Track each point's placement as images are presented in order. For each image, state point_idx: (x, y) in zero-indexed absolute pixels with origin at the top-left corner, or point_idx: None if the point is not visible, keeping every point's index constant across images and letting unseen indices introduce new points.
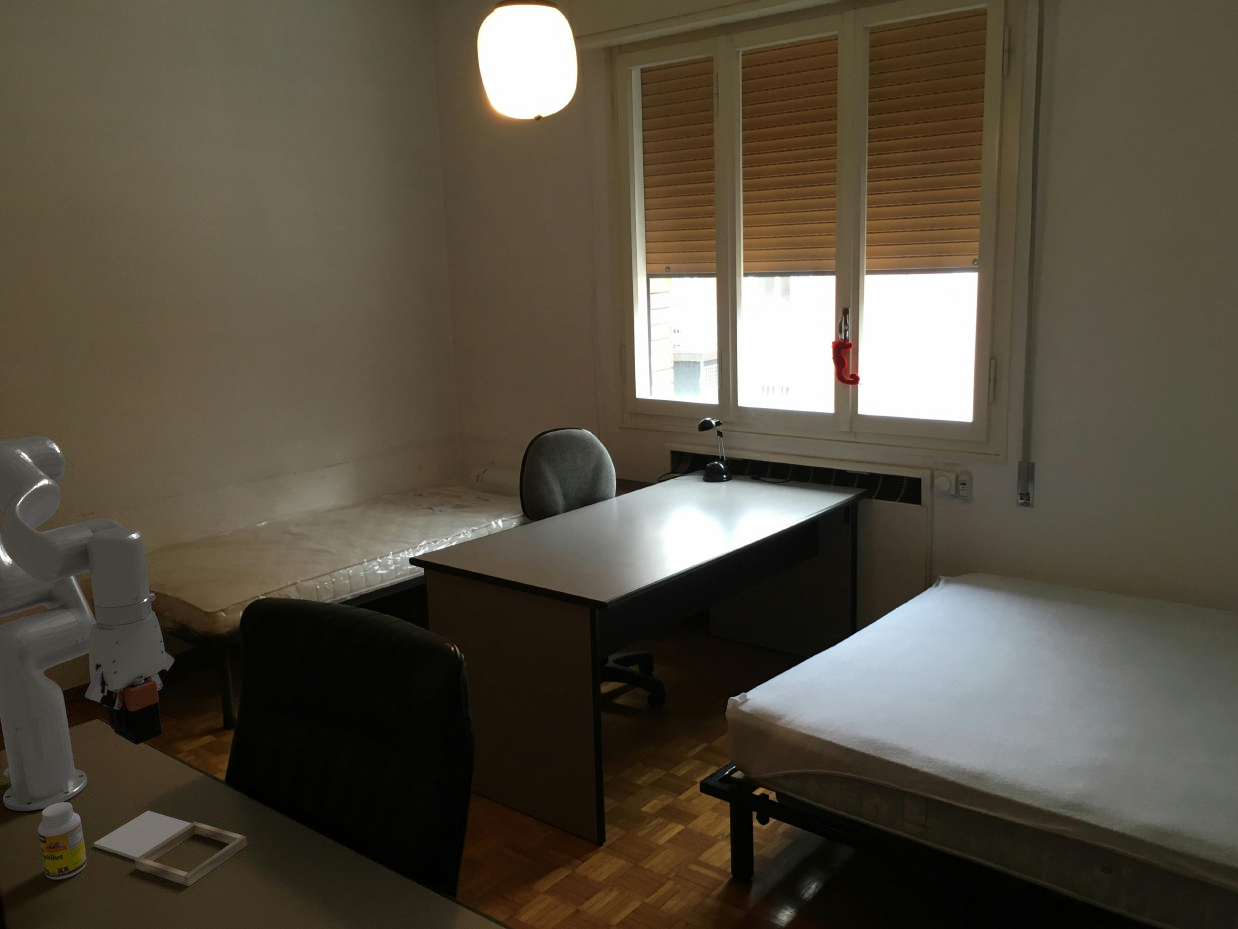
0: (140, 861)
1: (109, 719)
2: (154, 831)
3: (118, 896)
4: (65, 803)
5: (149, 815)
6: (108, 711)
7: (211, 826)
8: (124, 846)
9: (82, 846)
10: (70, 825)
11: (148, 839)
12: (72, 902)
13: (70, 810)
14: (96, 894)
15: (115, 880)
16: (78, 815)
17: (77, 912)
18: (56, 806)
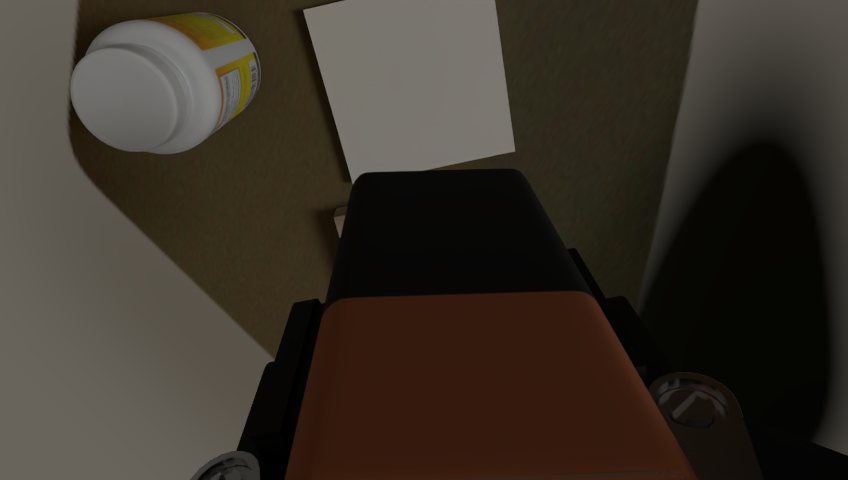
0: (339, 234)
1: (257, 393)
2: (438, 104)
3: (269, 268)
4: (158, 89)
5: (476, 1)
6: (239, 447)
7: None
8: (353, 107)
9: (233, 116)
10: (173, 152)
11: (408, 129)
12: (189, 211)
13: (168, 139)
14: (237, 225)
15: (286, 210)
16: (212, 107)
17: (188, 253)
18: (126, 80)
